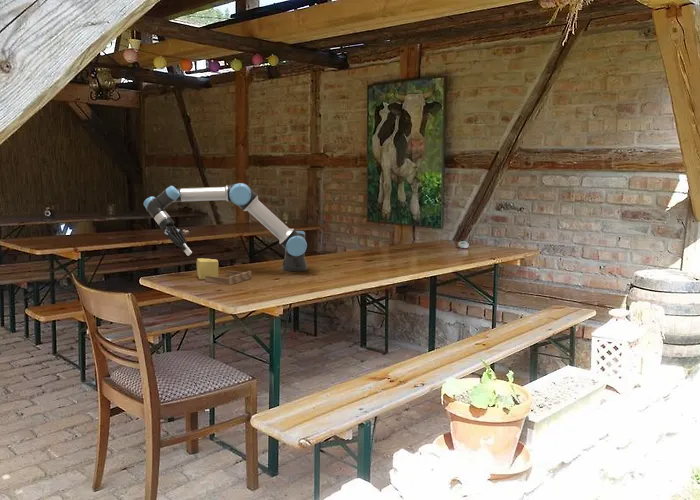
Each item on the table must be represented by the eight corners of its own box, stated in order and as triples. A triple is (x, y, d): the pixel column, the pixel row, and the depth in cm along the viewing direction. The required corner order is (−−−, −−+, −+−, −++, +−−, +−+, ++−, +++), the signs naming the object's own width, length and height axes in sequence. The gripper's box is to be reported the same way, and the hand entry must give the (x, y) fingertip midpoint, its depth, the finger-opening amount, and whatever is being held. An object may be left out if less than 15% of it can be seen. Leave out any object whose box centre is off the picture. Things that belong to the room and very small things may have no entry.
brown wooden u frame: (226, 275, 336) (226, 268, 336) (251, 278, 331) (251, 271, 330) (205, 281, 317) (205, 274, 317) (231, 284, 312) (231, 277, 311)
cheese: (215, 275, 335) (215, 257, 334) (219, 279, 325) (219, 260, 324) (196, 276, 332) (196, 258, 330) (199, 280, 322) (199, 261, 320)
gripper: (168, 224, 341) (192, 257, 338) (152, 226, 329) (178, 259, 326) (175, 216, 339) (201, 248, 335) (160, 217, 327) (186, 251, 323)
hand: (189, 254), depth 330 cm, fingers closed
